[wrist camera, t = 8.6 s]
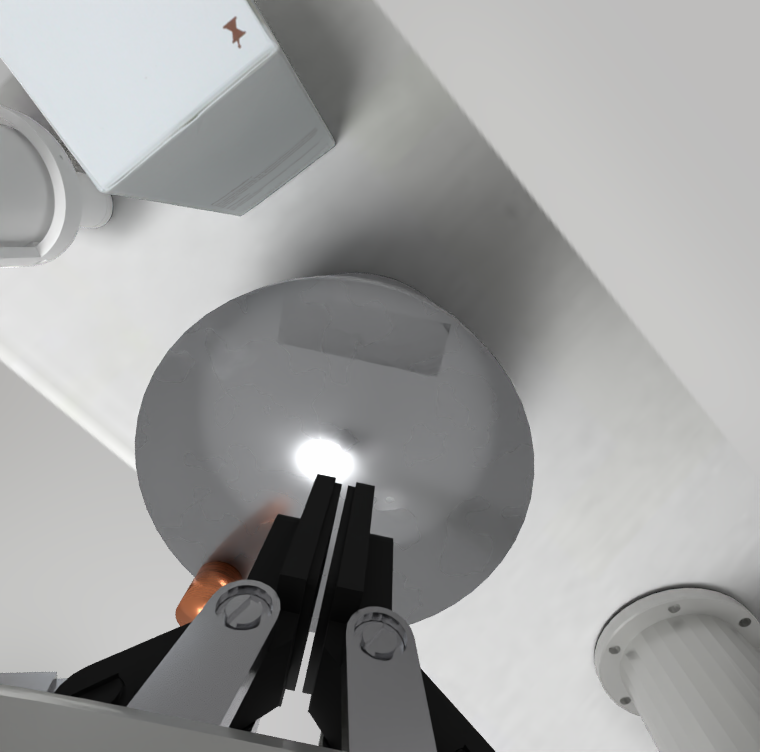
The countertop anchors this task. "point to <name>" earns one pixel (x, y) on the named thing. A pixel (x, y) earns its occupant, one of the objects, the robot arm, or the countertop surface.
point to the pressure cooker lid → (335, 436)
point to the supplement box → (166, 96)
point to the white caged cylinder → (41, 195)
